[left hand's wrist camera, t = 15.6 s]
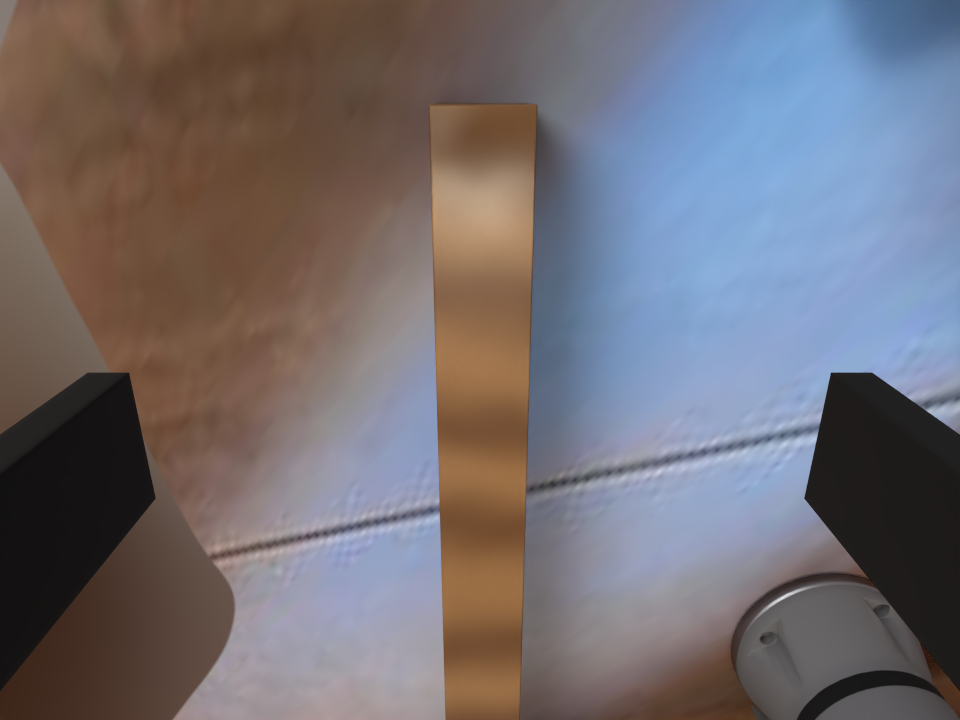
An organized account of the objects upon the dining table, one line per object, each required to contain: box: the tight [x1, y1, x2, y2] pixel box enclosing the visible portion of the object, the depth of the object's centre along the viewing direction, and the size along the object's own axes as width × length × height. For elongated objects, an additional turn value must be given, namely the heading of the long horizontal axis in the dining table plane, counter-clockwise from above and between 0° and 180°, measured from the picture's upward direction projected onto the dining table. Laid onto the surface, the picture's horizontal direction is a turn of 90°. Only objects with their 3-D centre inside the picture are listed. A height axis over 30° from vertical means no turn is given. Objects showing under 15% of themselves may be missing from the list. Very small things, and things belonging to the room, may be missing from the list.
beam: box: [429, 103, 537, 720], centre depth 53 cm, size 75×6×8 cm, turn 0°
